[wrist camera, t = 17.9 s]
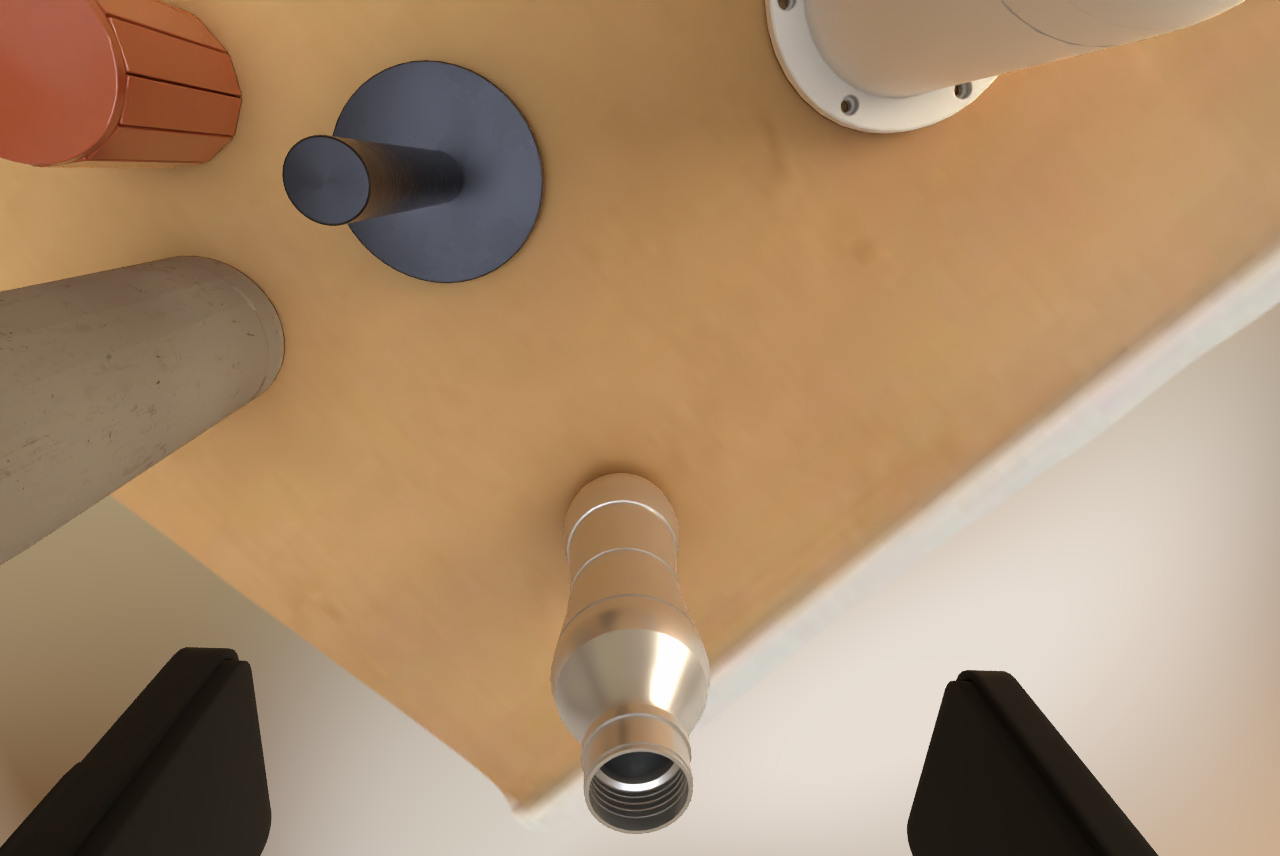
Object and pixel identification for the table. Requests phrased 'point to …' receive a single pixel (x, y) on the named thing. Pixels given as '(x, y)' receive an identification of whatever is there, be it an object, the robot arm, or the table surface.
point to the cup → (112, 85)
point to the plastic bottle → (629, 655)
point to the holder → (425, 172)
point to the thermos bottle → (119, 380)
